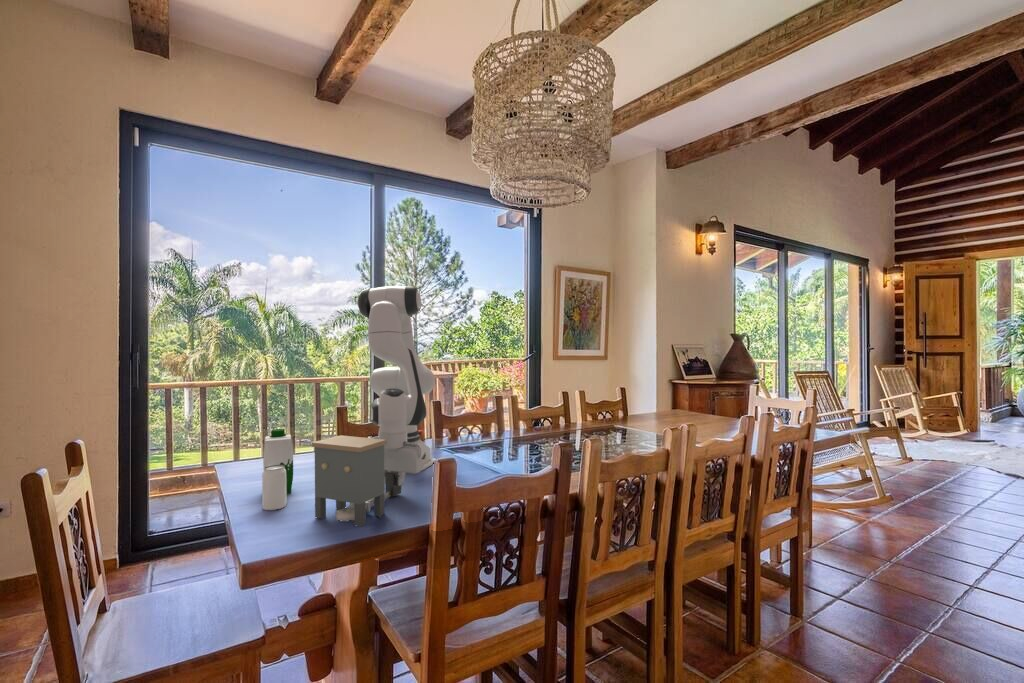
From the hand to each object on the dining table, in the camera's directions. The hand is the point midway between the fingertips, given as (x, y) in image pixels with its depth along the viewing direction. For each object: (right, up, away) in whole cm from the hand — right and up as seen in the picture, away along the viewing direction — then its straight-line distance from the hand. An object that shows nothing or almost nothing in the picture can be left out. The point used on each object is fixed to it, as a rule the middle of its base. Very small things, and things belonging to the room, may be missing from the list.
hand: (393, 484), depth 159 cm
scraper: (-3, -3, -6) cm, 8 cm away
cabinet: (-8, -4, -18) cm, 20 cm away
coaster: (-8, -4, -19) cm, 21 cm away
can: (-33, -4, -10) cm, 35 cm away
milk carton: (-39, -4, +5) cm, 39 cm away
